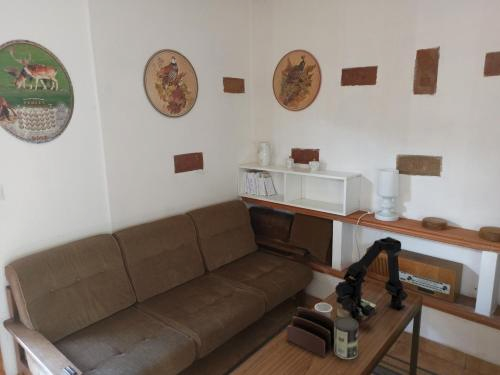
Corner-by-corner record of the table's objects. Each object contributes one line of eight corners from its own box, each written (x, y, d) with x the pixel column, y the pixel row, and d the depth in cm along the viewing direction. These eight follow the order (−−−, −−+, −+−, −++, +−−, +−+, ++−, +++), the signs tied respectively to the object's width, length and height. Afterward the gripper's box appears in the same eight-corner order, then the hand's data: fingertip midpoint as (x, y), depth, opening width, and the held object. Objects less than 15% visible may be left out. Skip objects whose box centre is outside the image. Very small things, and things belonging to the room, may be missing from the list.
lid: (363, 301, 191) (363, 294, 190) (376, 306, 185) (376, 299, 184) (349, 309, 183) (349, 302, 182) (362, 315, 177) (362, 308, 176)
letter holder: (298, 330, 173) (298, 303, 170) (335, 346, 160) (336, 318, 157) (286, 340, 166) (286, 313, 163) (324, 358, 153) (325, 329, 150)
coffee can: (356, 345, 160) (357, 317, 157) (358, 360, 151) (359, 331, 148) (333, 343, 162) (333, 315, 159) (333, 358, 153) (334, 328, 150)
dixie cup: (314, 320, 181) (314, 302, 178) (331, 320, 179) (331, 302, 177) (314, 329, 172) (314, 311, 170) (332, 331, 171) (332, 312, 169)
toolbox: (361, 306, 192) (361, 298, 191) (377, 313, 185) (377, 305, 184) (348, 314, 184) (348, 307, 184) (363, 322, 177) (364, 314, 177)
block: (341, 313, 186) (342, 305, 185) (353, 318, 181) (353, 310, 180) (337, 315, 183) (337, 307, 182) (348, 321, 178) (348, 313, 177)
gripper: (329, 290, 176) (329, 318, 180) (362, 304, 162) (361, 335, 165) (343, 282, 183) (342, 310, 186) (376, 296, 169) (374, 325, 172)
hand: (354, 320), depth 177 cm, fingers closed
